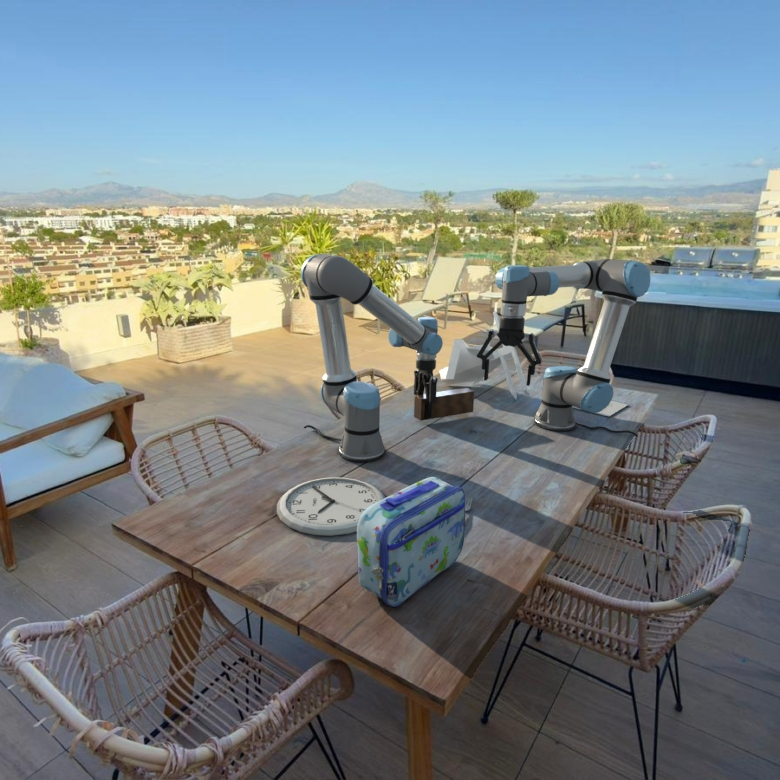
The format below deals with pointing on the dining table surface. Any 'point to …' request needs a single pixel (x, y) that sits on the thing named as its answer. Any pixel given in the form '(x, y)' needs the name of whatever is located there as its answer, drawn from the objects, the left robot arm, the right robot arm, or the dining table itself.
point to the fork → (467, 507)
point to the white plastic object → (480, 364)
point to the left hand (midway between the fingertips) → (423, 416)
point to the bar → (446, 403)
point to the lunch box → (410, 539)
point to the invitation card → (611, 408)
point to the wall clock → (327, 505)
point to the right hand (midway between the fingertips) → (506, 382)
